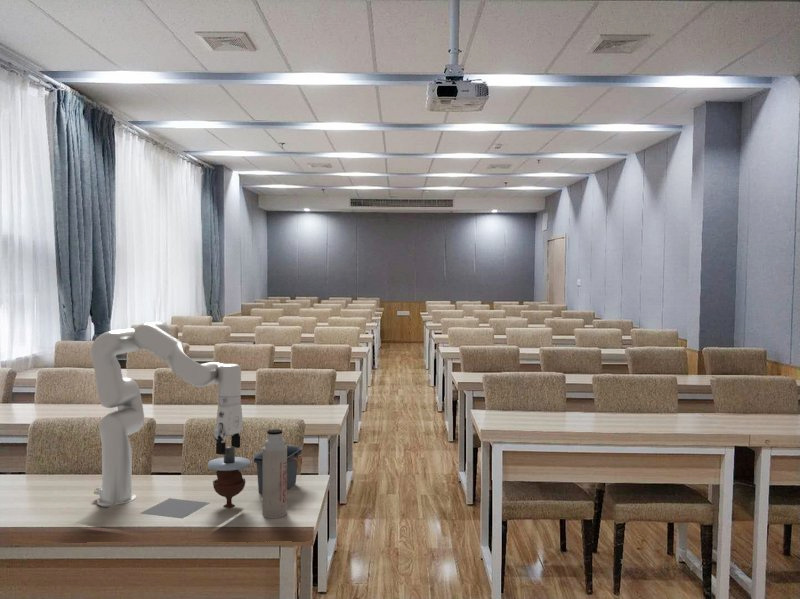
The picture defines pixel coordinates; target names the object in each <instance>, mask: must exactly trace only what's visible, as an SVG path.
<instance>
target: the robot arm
mask: <svg viewBox="0 0 800 599" xmlns="http://www.w3.org/2000/svg"><path fill="white" fill-rule="evenodd" d="M184 346H185V345H184V343H183V342H182V340H179V339H178V338H176V337H174V336H173V335H171V331H170V328H169V326H168V325H167V324H165V323H163V322H161V321H151V322H144V323H141V324H140V325H139V324H138V326H135V327H130V328H122V329H113V330H108V331H105V332H103V333H101V334H100V335H98V336H97V337H96V338H95V339H94V341H93V342H92V344H91V348H90V357H91V362H92V365H93V370H94V376H95V382H96V383H95V384H96V388H97V395H98V396H97V397H98V400H99V402H100V404H101V406H102V407H104V408H105V409H113V408H117V410H115V411H112V412H111V411H110V413H109V412H108V414H106V415H105V416H103V417H102V419H101V420H100V422H99V426H98V431H99V437H100V442H101V476H102V477H101V487H100V486H97V487H96V488H95V490H94V492H93V495H99V498H98V499H97V500H96V501H97V502H96V503H97V505H99V506H100V507H103V508H110V507H112V506H117V505H124V504H127V503H131V502H132V501H133V502H134V500H136V499H137V495H136V494H134V493H132V492H133V490H132V489H133V488H132V486H133V483H132V481H133V480H132V479H133V476H132V474H133V472H132V468H133V464H132V463H133V460H132V458H133V456H132V445H131V441H130V438H129V436H130V435H132V434H135V433H137V432H139V431H140V430H141V429H142V427H143V426H144V423H145V413H144V406H143V400H142V395H141V390H140V387H139V385H138V383H137V382H136V381H135V380H134V379H133V378H130V377H123V373H122V367H121V364H120V362H119V360H118V359H117V357H116V356H118V355H121V354H122V355H123V354H128V353H135V352H138V351H143V350H146V351H147V352H149V353H152V354H153V355H155V356H156V357H157V358H159V359H161V360H162V361H163V362H165V363H166V364H167V365H168V367H169V368H170V370H171V371H172V372H173V373H174V374H175V375H176V376H177V377H179V378H180V379H182V381H185V382H186V383H188V384H190V385H192V386H193V387H195V388H196V387H197V388H204V387H205V388H206V387H208V386H210V385H215V384H217V413H216V421H215V422H216V425H215V429H214V430H213V435H214V436H213V437H214V440H215V448H216V449H215V454H217V455H223V456H224V454H225V450H226V447H227V445H226V442H225V441H226V440H227V439H226V438H227V437H231V438H230V439H231V441H230V442H231V443H230V446H234V447H235V449H240V448H241V436H242V430H243V424H244V421H243V408H242V404H241V398H242V397H241V396H242V395H241V394H242V367H241V365H239V364H237V363H222V362H221V363H220V362H216V361H210V362H209V361H208V362H205V363H199V362H197V361H195V360H194V359H192V358H190V357H189V356H188V355H187V354H186V353H185V352H184Z"/></svg>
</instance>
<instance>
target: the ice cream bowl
mask: <svg viewBox="0 0 800 599" xmlns="http://www.w3.org/2000/svg"><path fill="white" fill-rule="evenodd" d="M216 477H217V479H214V480H213V481H212V485H213V489H214V492H215V493H217V495H219V496H221V497H224V498H225V500H226V503H225V504H224V505H223V508H225V509H231V508H234V507H236V505H235V504H234V503H232V502H233V500H232V499H233V498H234V497H236V496H238V495H239V494H240V493H241V492H243V490H244V488H245V486H246V478H244V477H243V475H242V472H241V471H240V469H239V470H231V471H219V470H216Z"/></svg>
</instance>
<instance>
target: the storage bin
mask: <svg viewBox="0 0 800 599" xmlns="http://www.w3.org/2000/svg"><path fill="white" fill-rule="evenodd" d="M285 446H287V491H288V490H290V488H291V487H293V486H295V485H296V484H297V474H298V469H300V468H301V467H302V465H303V464H302V463H303V456H302V449H303V446H300V445H299V446H298V445H286V444H285ZM299 457H300V465H299ZM252 458H253V463H254V464H256V472H257V487H258V489H257V490H258V494H259V495H263V449H262V450H261V451H259V452H257V453H255V454H253V455H252ZM294 484H295V485H294Z"/></svg>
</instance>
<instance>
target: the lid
mask: <svg viewBox="0 0 800 599" xmlns="http://www.w3.org/2000/svg"><path fill="white" fill-rule="evenodd" d="M250 466H251V460H250V459H249V458H246V457H241V456H236V448H235V447H234V446H231V445H229V446H227V445H226V450H225V454H224V455H223V457H217V458H214V459H211V460H210V461H207V468H209V469H210V470H213V471H217V470H219V471H231V470H239V471H240V470H243V469H247V468H249V467H250Z"/></svg>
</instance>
